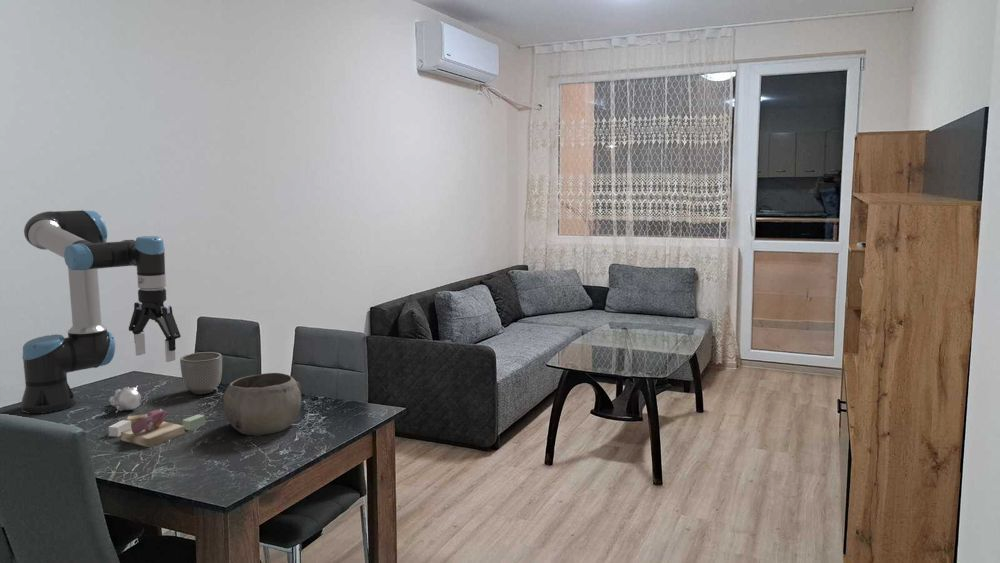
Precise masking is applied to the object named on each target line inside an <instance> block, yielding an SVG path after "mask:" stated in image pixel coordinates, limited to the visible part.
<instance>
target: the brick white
mask: <svg viewBox="0 0 1000 563" xmlns="http://www.w3.org/2000/svg"><path fill="white" fill-rule="evenodd" d="M128 429H131V421H127V419H125V420H120V421H118V422H116V423H114V424H111V425H110V426H108V437H117V438H118V437H121V432H123V431H126V430H128Z"/></svg>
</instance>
